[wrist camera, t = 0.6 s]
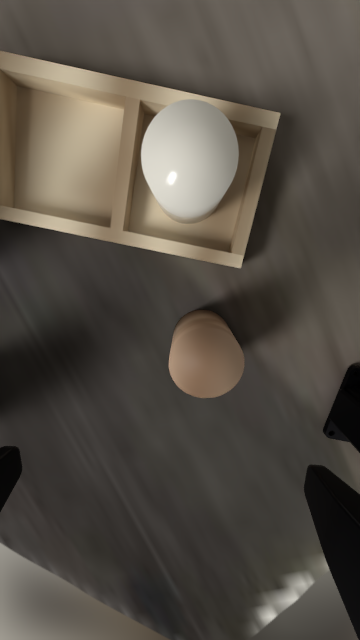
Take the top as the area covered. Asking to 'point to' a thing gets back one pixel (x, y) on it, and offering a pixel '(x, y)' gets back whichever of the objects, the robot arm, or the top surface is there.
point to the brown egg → (205, 355)
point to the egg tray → (113, 160)
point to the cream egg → (189, 159)
